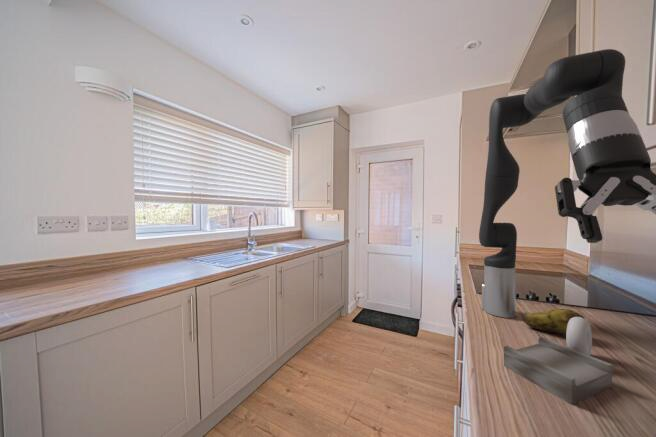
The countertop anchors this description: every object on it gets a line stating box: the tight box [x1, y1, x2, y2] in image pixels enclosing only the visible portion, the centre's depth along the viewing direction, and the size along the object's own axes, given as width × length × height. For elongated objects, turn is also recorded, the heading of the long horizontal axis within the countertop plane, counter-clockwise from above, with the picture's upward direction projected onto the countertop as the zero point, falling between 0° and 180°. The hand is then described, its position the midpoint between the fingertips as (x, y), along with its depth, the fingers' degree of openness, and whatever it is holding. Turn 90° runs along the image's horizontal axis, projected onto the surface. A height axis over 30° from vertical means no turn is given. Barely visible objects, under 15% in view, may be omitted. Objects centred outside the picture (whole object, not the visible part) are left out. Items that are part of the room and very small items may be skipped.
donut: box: [565, 317, 593, 356], centre depth 57 cm, size 10×4×10 cm, turn 124°
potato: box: [523, 308, 587, 334], centre depth 70 cm, size 8×13×8 cm, turn 28°
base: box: [503, 336, 613, 405], centre depth 51 cm, size 12×14×4 cm
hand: (635, 242), depth 33 cm, fingers open, 8 cm apart
